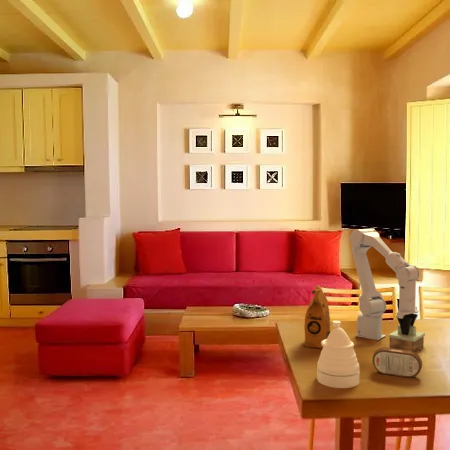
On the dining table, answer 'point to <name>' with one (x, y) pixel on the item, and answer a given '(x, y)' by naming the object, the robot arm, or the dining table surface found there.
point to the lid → (410, 337)
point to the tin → (397, 362)
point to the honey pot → (338, 360)
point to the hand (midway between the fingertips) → (406, 333)
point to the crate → (406, 344)
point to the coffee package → (317, 320)
